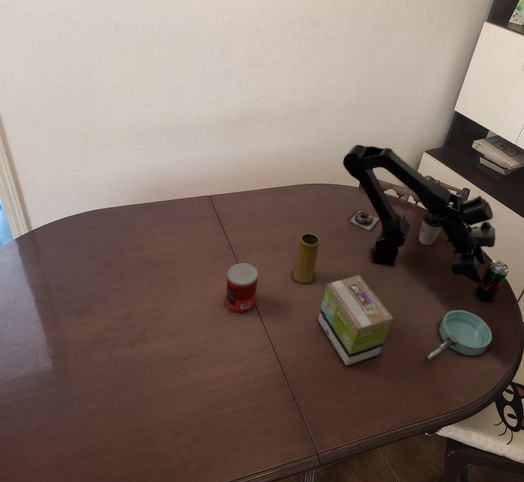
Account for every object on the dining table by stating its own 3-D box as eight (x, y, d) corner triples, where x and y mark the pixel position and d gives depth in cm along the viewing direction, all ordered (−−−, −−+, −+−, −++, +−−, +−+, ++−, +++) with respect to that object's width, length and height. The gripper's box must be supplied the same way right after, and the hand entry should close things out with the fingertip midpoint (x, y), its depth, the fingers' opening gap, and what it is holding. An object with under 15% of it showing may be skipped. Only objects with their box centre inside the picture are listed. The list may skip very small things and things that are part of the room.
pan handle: (448, 338, 118) (450, 334, 117) (456, 344, 117) (458, 340, 116) (422, 357, 113) (424, 353, 112) (430, 364, 111) (432, 360, 110)
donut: (359, 210, 163) (360, 205, 162) (379, 219, 160) (380, 214, 159) (348, 221, 158) (349, 216, 156) (369, 230, 154) (370, 226, 153)
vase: (315, 272, 136) (323, 235, 128) (310, 286, 132) (318, 248, 123) (296, 266, 138) (302, 229, 129) (290, 279, 133) (296, 242, 124)
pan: (442, 351, 117) (447, 343, 115) (435, 315, 127) (439, 306, 125) (491, 359, 116) (497, 351, 114) (480, 322, 126) (485, 314, 124)
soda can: (496, 299, 134) (513, 269, 126) (483, 304, 132) (500, 274, 124) (483, 287, 137) (499, 258, 130) (471, 291, 135) (486, 261, 128)
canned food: (259, 297, 127) (262, 268, 120) (246, 317, 121) (249, 288, 114) (234, 287, 129) (236, 258, 122) (220, 306, 123) (222, 277, 116)
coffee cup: (438, 239, 154) (448, 215, 148) (433, 250, 149) (442, 226, 143) (418, 231, 156) (427, 207, 150) (412, 241, 152) (421, 217, 145)
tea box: (316, 321, 122) (325, 281, 113) (348, 311, 125) (360, 272, 116) (345, 367, 111) (358, 328, 102) (380, 355, 115) (395, 316, 106)
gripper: (480, 239, 115) (508, 286, 119) (488, 202, 129) (513, 246, 132) (438, 251, 123) (466, 295, 126) (450, 215, 136) (474, 256, 140)
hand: (481, 272), depth 131 cm, fingers open, 9 cm apart
